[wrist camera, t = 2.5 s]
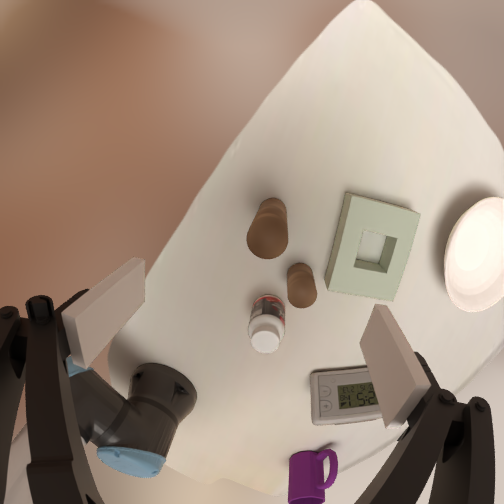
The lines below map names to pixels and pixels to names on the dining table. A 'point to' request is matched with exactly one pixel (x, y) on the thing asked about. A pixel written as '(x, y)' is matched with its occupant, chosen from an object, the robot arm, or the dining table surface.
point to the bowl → (476, 256)
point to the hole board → (348, 240)
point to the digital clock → (343, 397)
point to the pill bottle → (267, 324)
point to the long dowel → (269, 230)
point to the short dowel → (301, 286)
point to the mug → (310, 476)
